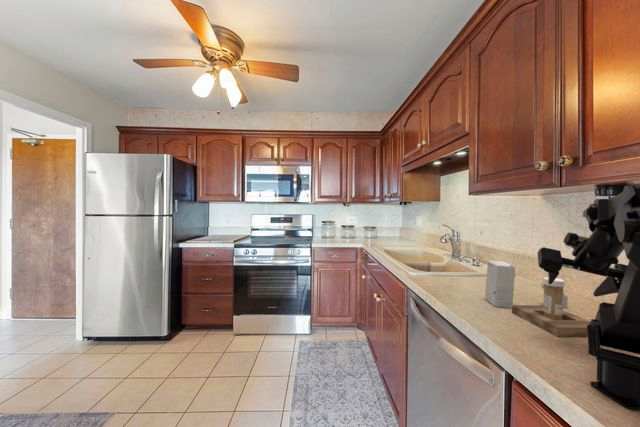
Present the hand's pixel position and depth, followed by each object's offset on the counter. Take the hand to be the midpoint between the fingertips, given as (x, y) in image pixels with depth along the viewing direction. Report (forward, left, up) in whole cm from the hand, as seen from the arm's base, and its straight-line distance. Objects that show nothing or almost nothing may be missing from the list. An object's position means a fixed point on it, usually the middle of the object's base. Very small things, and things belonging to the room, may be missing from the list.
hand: (571, 288), depth 68 cm
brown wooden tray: (+8, -4, -13) cm, 16 cm away
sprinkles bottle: (+8, -3, -13) cm, 16 cm away
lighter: (+22, -17, -13) cm, 31 cm away
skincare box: (+24, +1, -13) cm, 28 cm away
